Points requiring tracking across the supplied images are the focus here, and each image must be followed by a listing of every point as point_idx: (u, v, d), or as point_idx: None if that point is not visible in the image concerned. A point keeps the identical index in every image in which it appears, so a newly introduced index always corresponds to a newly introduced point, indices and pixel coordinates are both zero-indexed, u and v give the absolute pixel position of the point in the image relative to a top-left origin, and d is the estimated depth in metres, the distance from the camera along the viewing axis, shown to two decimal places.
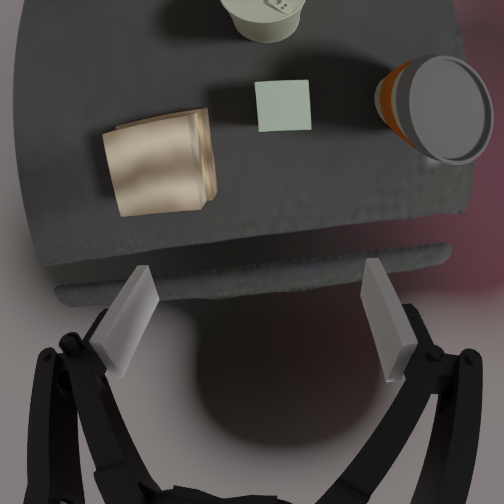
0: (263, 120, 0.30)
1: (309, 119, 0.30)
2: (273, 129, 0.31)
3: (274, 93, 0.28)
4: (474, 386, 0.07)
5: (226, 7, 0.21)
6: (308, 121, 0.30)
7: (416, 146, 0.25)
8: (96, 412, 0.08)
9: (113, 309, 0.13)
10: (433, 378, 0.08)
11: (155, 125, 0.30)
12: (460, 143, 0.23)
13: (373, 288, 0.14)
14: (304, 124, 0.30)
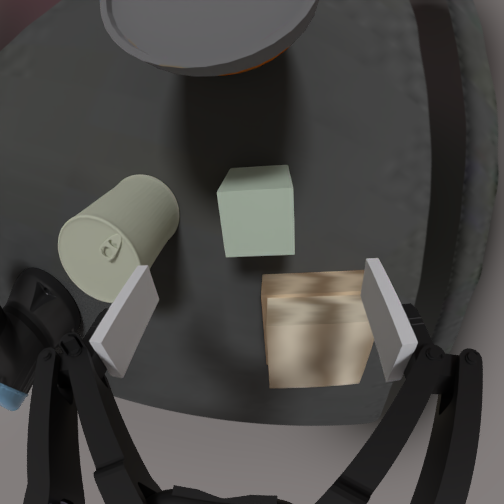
0: (278, 249, 0.25)
1: (277, 190, 0.22)
2: (292, 237, 0.24)
3: (241, 235, 0.24)
4: (474, 386, 0.07)
5: None
6: (280, 191, 0.22)
7: (301, 31, 0.12)
8: (96, 412, 0.08)
9: (113, 309, 0.13)
10: (433, 378, 0.08)
11: (272, 351, 0.30)
12: None
13: (373, 288, 0.14)
14: (285, 197, 0.22)
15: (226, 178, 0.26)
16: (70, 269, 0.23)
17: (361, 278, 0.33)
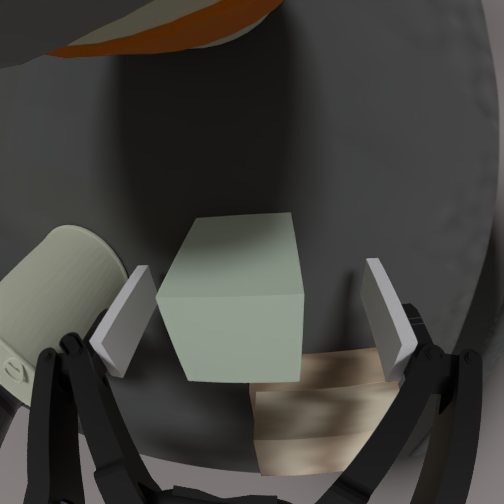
0: (273, 376, 0.14)
1: (272, 298, 0.11)
2: (297, 363, 0.13)
3: (208, 359, 0.13)
4: (474, 386, 0.07)
5: None
6: (278, 300, 0.11)
7: None
8: (96, 412, 0.08)
9: (113, 309, 0.13)
10: (433, 378, 0.08)
11: (262, 455, 0.19)
12: None
13: (373, 288, 0.14)
14: (288, 309, 0.11)
15: (182, 249, 0.15)
16: None
17: None
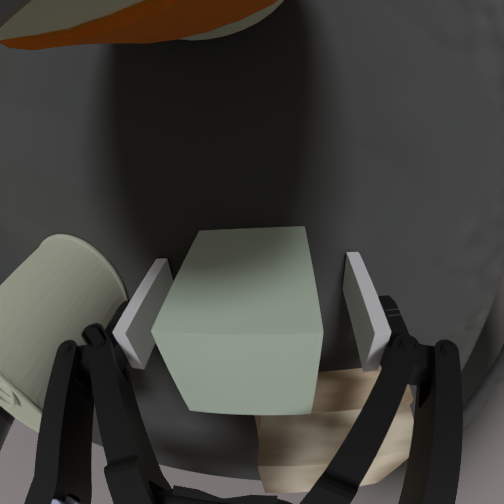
0: (283, 410, 0.12)
1: (286, 337, 0.09)
2: (309, 398, 0.11)
3: (211, 392, 0.11)
4: (452, 377, 0.08)
5: None
6: (293, 339, 0.09)
7: None
8: (113, 407, 0.08)
9: (135, 300, 0.14)
10: (408, 367, 0.09)
11: (266, 478, 0.18)
12: None
13: (352, 281, 0.15)
14: (304, 347, 0.09)
15: (183, 269, 0.13)
16: None
17: None
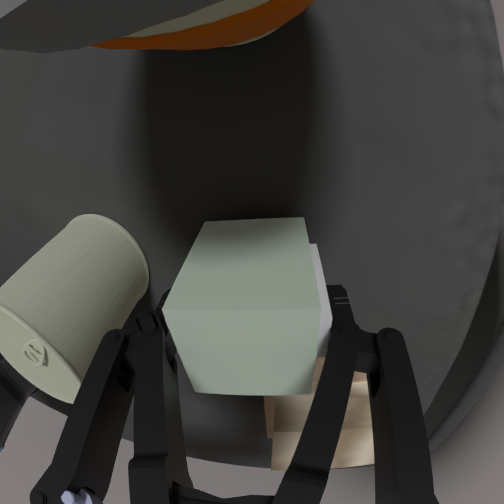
0: (284, 389, 0.13)
1: (287, 312, 0.10)
2: (309, 377, 0.12)
3: (217, 372, 0.12)
4: (401, 363, 0.09)
5: None
6: (293, 315, 0.10)
7: None
8: (153, 399, 0.09)
9: None
10: (353, 352, 0.10)
11: (278, 448, 0.20)
12: None
13: None
14: (304, 323, 0.10)
15: (191, 256, 0.14)
16: (6, 355, 0.13)
17: None
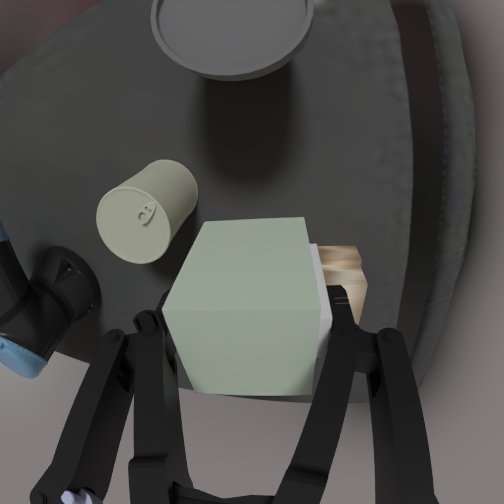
0: (284, 390, 0.13)
1: (287, 313, 0.10)
2: (309, 377, 0.12)
3: (217, 372, 0.12)
4: (401, 363, 0.09)
5: (156, 258, 0.30)
6: (293, 315, 0.10)
7: (299, 49, 0.17)
8: (153, 399, 0.09)
9: None
10: (353, 352, 0.10)
11: None
12: None
13: None
14: (304, 323, 0.10)
15: (190, 256, 0.14)
16: (105, 234, 0.29)
17: (352, 251, 0.39)
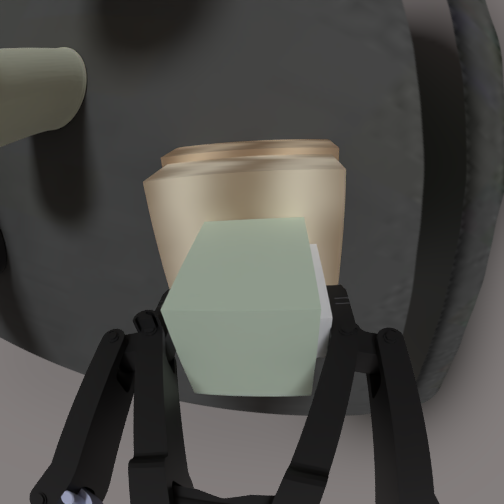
0: (284, 390, 0.13)
1: (286, 313, 0.10)
2: (309, 378, 0.12)
3: (216, 372, 0.12)
4: (401, 363, 0.09)
5: None
6: (293, 315, 0.10)
7: None
8: (153, 400, 0.09)
9: None
10: (353, 352, 0.10)
11: (162, 239, 0.18)
12: None
13: None
14: (304, 324, 0.10)
15: (190, 256, 0.14)
16: None
17: (322, 142, 0.21)
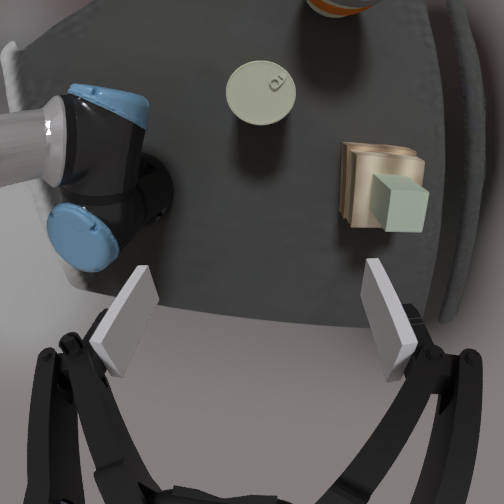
0: (414, 228, 0.35)
1: (421, 192, 0.33)
2: (423, 221, 0.35)
3: (397, 217, 0.35)
4: (474, 386, 0.07)
5: (279, 119, 0.35)
6: (422, 193, 0.33)
7: None
8: (96, 412, 0.08)
9: (113, 309, 0.13)
10: (433, 378, 0.08)
11: (358, 180, 0.41)
12: None
13: (373, 288, 0.14)
14: (424, 197, 0.33)
15: (382, 181, 0.36)
16: (233, 99, 0.34)
17: (406, 148, 0.43)
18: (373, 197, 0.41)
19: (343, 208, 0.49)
